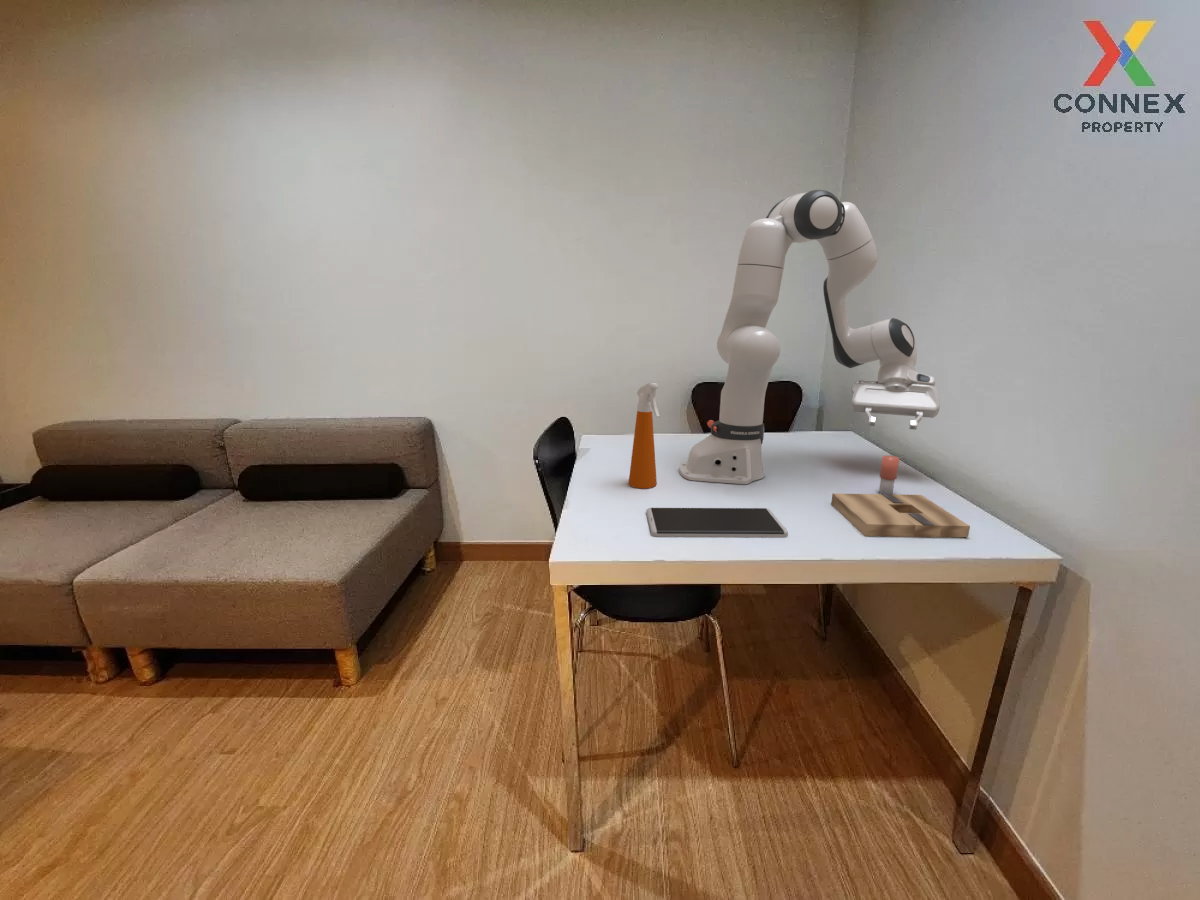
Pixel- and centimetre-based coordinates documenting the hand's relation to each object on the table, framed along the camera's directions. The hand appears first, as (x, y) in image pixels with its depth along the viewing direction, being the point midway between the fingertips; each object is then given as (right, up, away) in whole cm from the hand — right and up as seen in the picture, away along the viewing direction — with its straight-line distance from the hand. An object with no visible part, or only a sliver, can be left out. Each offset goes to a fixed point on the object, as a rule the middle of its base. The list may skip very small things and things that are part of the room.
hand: (892, 426), depth 140 cm
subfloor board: (-11, -21, -22) cm, 33 cm away
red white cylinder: (-5, -16, -6) cm, 18 cm away
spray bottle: (-63, -15, -3) cm, 65 cm away
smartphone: (-51, -22, -25) cm, 61 cm away
